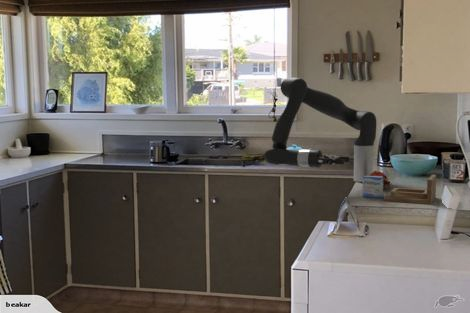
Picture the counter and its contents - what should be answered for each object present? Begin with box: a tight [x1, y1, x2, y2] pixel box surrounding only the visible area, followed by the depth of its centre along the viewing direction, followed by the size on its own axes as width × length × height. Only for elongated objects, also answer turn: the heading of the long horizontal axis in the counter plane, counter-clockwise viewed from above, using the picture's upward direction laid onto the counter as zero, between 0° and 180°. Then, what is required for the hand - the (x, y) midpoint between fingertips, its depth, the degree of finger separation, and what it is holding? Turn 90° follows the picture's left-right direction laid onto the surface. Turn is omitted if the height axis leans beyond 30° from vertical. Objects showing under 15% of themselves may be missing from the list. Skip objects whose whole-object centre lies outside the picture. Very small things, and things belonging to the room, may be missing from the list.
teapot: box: [286, 144, 312, 150], centre depth 358 cm, size 15×15×11 cm
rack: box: [383, 174, 437, 205], centre depth 245 cm, size 14×18×10 cm
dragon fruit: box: [369, 170, 391, 189], centre depth 270 cm, size 8×8×12 cm
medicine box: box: [362, 176, 384, 199], centre depth 251 cm, size 8×4×9 cm, turn 69°
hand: (346, 160), depth 256 cm, fingers open, 8 cm apart
